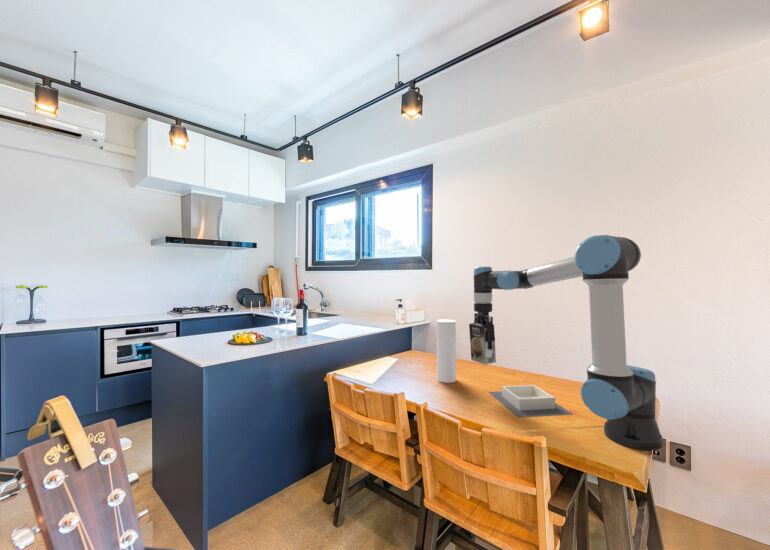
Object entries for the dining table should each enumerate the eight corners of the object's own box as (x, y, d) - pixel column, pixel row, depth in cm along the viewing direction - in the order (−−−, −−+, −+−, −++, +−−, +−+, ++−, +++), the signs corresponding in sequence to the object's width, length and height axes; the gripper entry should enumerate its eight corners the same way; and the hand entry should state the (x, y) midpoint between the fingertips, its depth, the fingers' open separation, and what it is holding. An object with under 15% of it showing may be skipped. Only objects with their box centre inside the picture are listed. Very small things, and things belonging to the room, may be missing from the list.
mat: (573, 415, 123) (573, 414, 123) (518, 418, 121) (518, 417, 121) (534, 390, 149) (534, 389, 149) (488, 392, 147) (488, 391, 147)
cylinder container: (454, 376, 169) (454, 318, 169) (456, 382, 160) (456, 321, 160) (436, 376, 170) (436, 318, 170) (437, 382, 161) (437, 321, 161)
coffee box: (470, 360, 145) (468, 323, 144) (482, 357, 147) (479, 321, 147) (485, 365, 136) (482, 326, 136) (496, 362, 139) (494, 324, 139)
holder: (555, 408, 129) (555, 397, 129) (519, 410, 127) (519, 399, 127) (534, 394, 143) (534, 384, 143) (501, 396, 141) (501, 386, 141)
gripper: (503, 304, 131) (504, 360, 131) (480, 300, 154) (481, 347, 154) (485, 304, 130) (486, 361, 130) (465, 300, 153) (465, 348, 153)
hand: (483, 353), depth 142 cm, fingers closed on coffee box, 10 cm apart
